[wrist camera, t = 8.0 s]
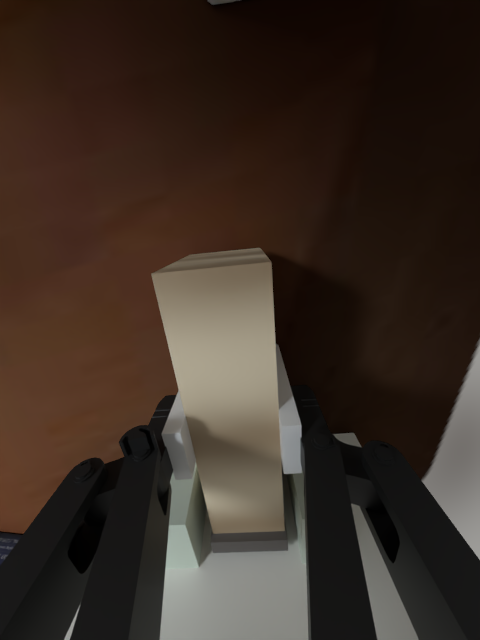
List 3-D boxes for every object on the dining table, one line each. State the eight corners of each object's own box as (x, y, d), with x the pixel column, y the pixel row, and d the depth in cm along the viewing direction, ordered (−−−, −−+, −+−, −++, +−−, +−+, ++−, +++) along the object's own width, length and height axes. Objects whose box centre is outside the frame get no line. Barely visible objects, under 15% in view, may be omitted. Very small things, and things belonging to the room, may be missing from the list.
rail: (188, 254, 13) (143, 276, 7) (261, 247, 13) (276, 263, 7) (222, 451, 19) (213, 553, 13) (274, 448, 19) (288, 550, 13)
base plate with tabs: (132, 410, 19) (-106, 814, 6) (358, 394, 18) (650, 825, 5) (150, 461, 21) (6, 834, 8) (351, 449, 20) (543, 845, 7)
